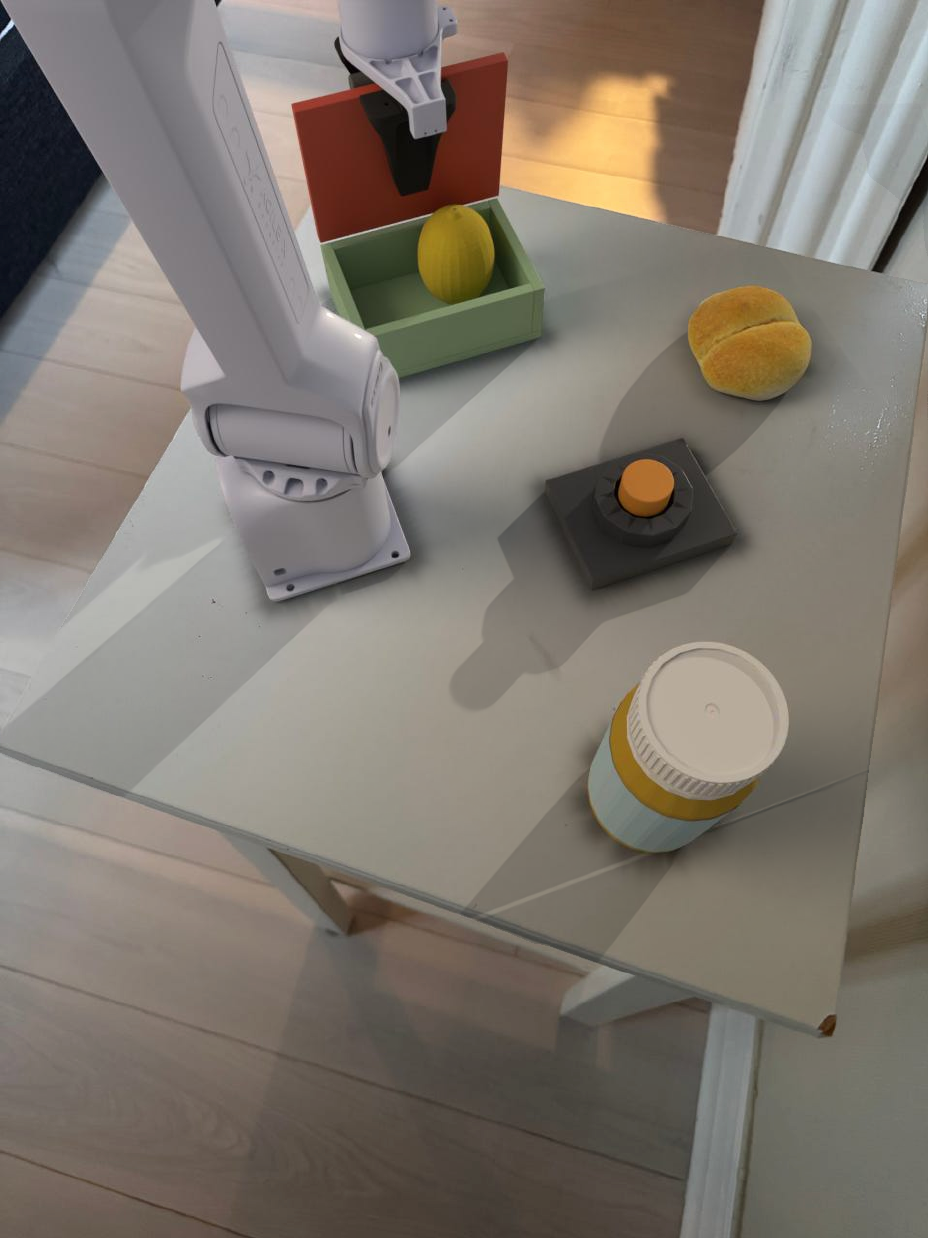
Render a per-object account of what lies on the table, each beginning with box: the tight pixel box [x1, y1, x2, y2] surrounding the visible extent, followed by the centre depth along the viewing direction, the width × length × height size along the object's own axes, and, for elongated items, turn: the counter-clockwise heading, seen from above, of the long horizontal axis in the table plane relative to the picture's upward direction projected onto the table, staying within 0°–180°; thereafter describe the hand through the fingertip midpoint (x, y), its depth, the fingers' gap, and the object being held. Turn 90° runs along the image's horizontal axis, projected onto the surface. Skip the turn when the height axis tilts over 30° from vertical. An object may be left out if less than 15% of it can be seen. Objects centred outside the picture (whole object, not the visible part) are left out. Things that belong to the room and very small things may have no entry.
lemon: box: [418, 205, 495, 304], centre depth 60 cm, size 6×6×8 cm
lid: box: [290, 51, 509, 244], centre depth 56 cm, size 10×14×4 cm
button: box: [618, 459, 674, 517], centre depth 52 cm, size 3×3×2 cm
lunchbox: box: [319, 197, 546, 379], centre depth 61 cm, size 10×14×5 cm
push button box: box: [544, 437, 738, 591], centre depth 54 cm, size 10×8×3 cm
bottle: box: [586, 641, 790, 854], centre depth 41 cm, size 7×7×15 cm
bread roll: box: [687, 285, 813, 402], centre depth 59 cm, size 8×9×4 cm
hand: (403, 169), depth 57 cm, fingers closed on lid, 4 cm apart
